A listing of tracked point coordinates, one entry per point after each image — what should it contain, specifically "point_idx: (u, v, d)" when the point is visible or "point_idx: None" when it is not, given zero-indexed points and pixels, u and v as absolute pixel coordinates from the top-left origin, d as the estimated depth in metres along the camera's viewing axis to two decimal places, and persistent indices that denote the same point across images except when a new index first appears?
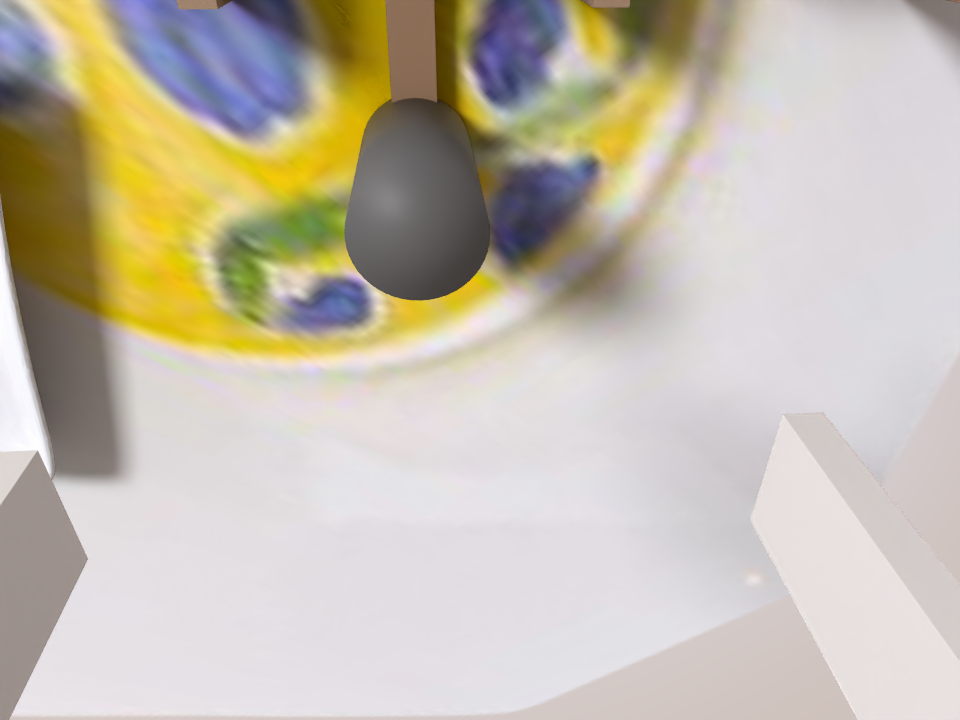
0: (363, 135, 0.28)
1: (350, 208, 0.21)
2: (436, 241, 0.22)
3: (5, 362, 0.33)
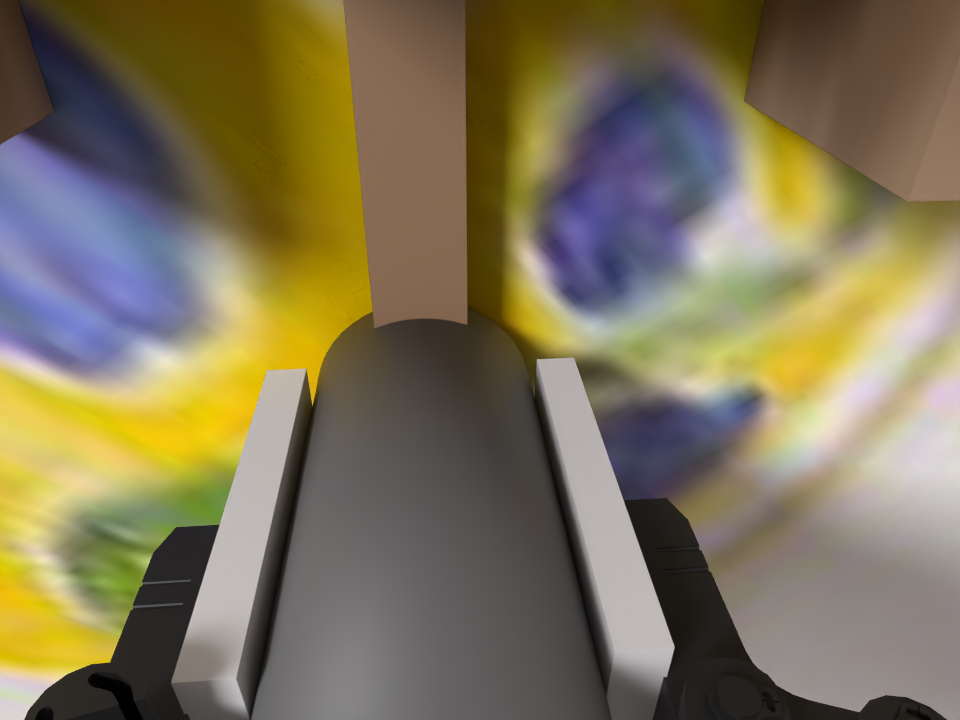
0: (317, 386, 0.14)
1: None
2: None
3: None
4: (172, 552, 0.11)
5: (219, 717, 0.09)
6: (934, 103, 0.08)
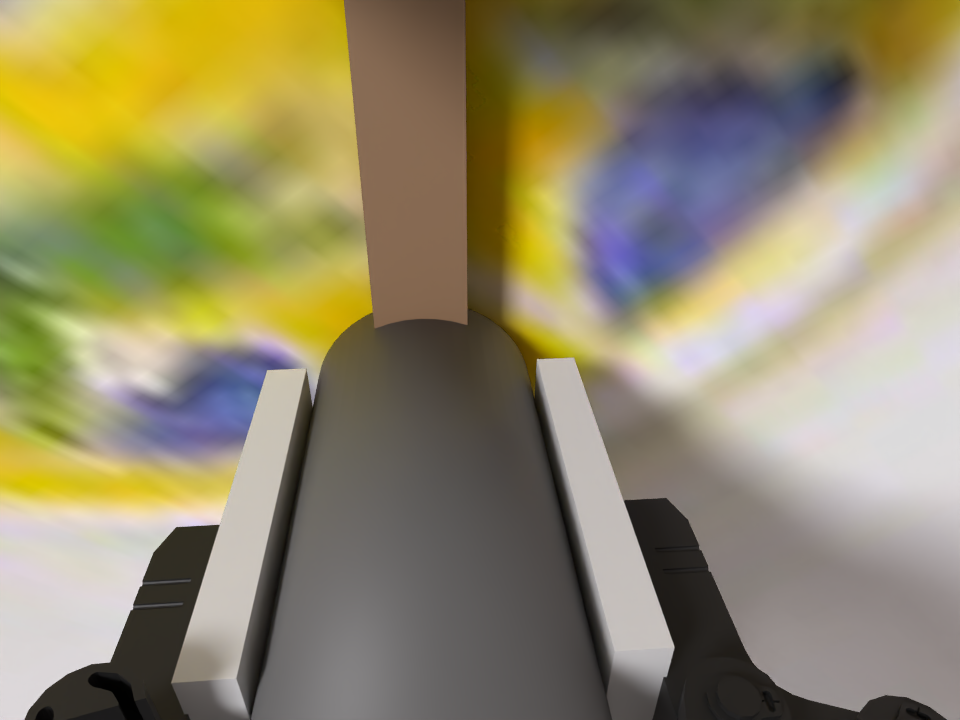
0: (317, 386, 0.14)
1: None
2: None
3: None
4: (172, 552, 0.11)
5: (218, 717, 0.09)
6: None
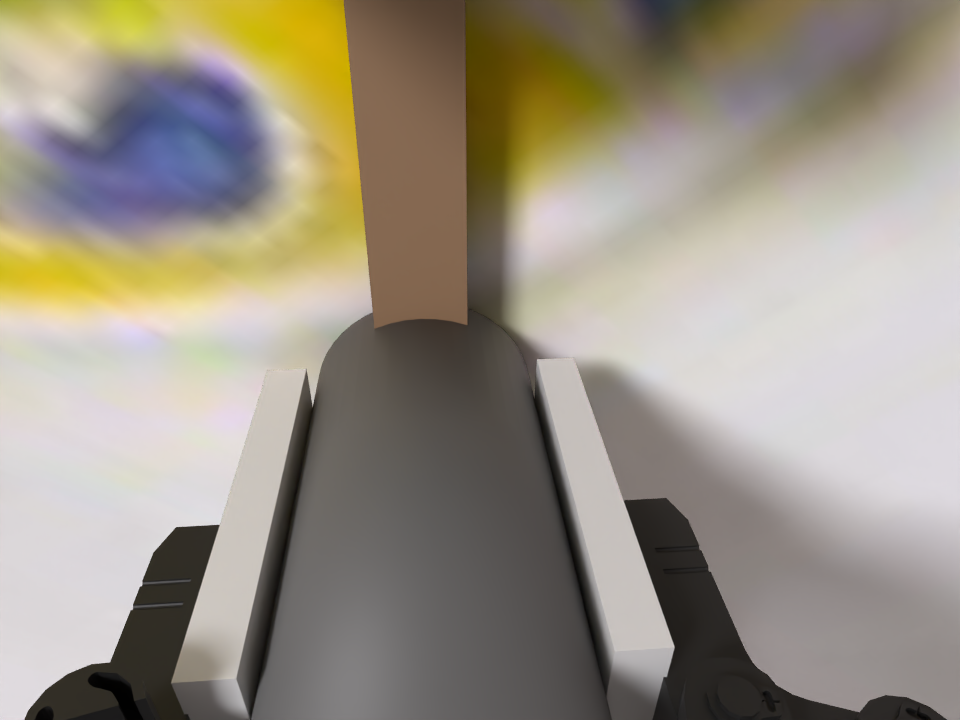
0: (317, 386, 0.14)
1: None
2: None
3: None
4: (172, 552, 0.11)
5: (219, 717, 0.09)
6: None
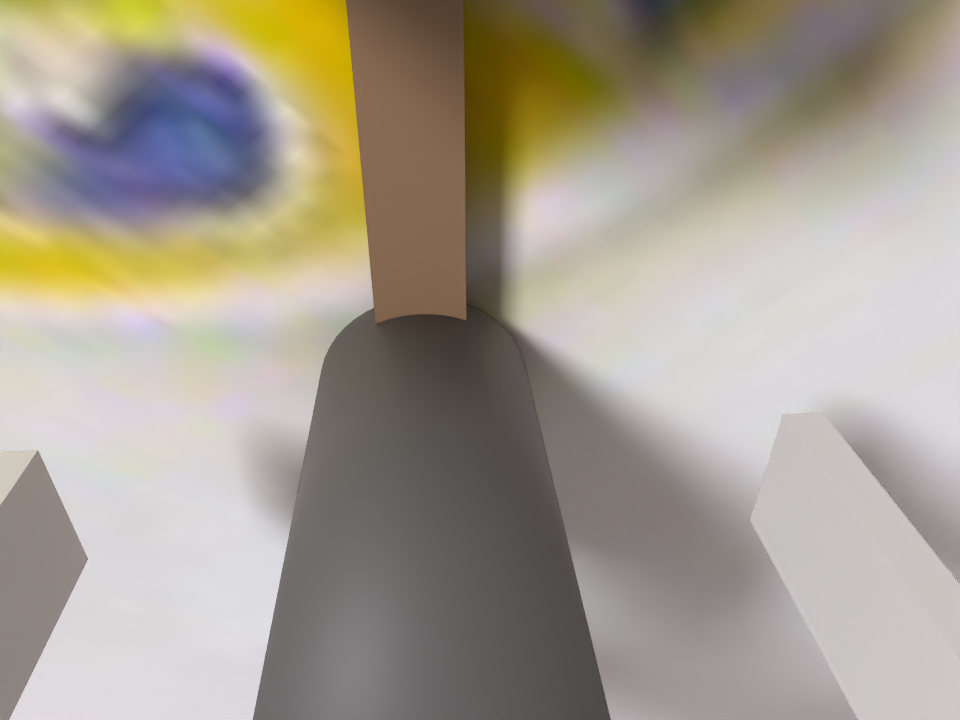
0: (320, 380, 0.14)
1: None
2: None
3: None
4: None
5: None
6: None
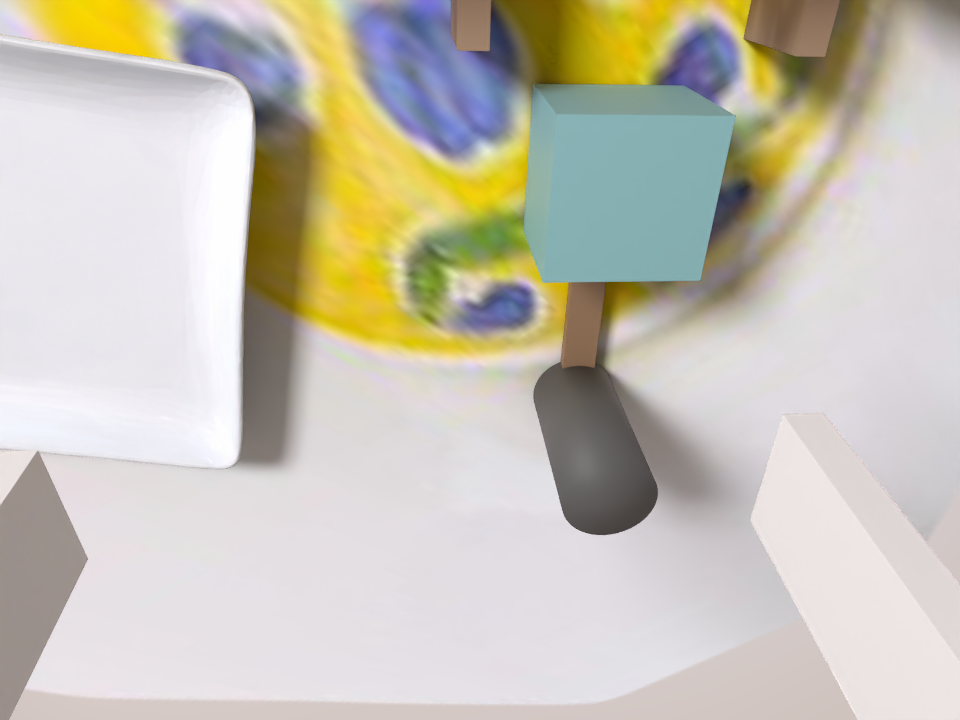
0: (539, 388, 0.39)
1: (569, 485, 0.32)
2: (621, 502, 0.33)
3: (210, 353, 0.36)
4: None
5: None
6: (801, 24, 0.27)
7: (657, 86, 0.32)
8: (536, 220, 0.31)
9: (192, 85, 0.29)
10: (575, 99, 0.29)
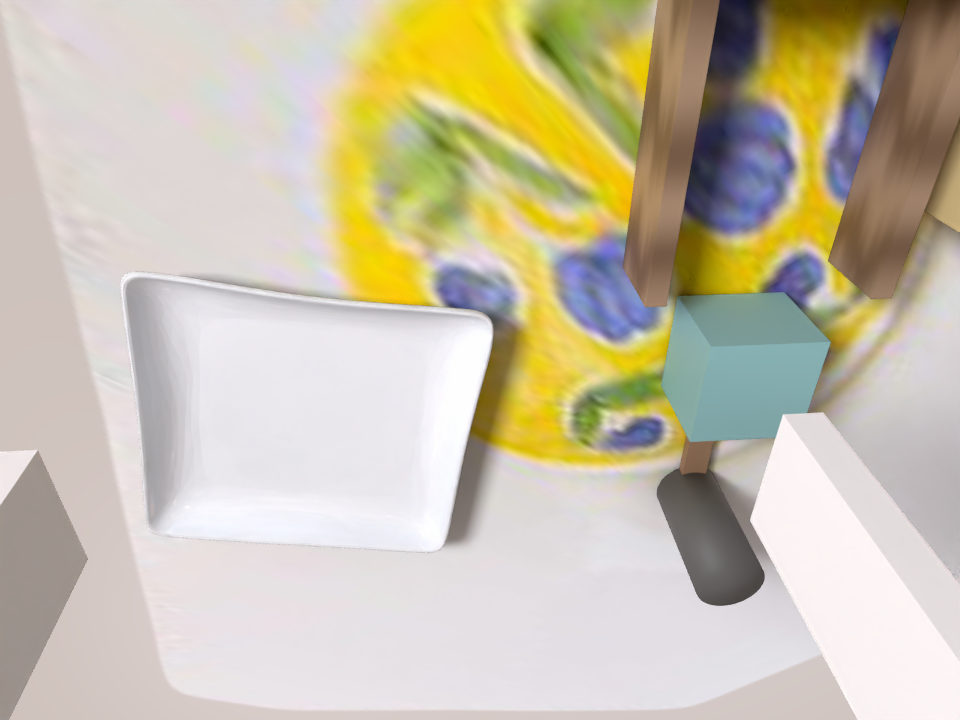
0: (664, 488, 0.52)
1: (703, 575, 0.46)
2: (738, 584, 0.46)
3: (429, 474, 0.50)
4: None
5: None
6: (876, 280, 0.39)
7: (765, 295, 0.44)
8: (681, 393, 0.44)
9: (451, 316, 0.42)
10: (715, 321, 0.41)
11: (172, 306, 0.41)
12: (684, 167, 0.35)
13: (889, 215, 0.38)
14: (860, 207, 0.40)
